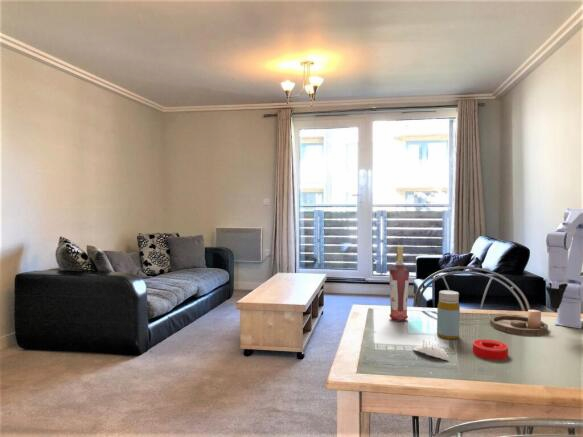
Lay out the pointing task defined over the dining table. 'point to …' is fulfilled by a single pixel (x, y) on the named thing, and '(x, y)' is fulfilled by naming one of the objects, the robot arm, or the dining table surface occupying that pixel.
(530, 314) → the bead
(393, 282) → the liquor
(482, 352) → the decorative ornament
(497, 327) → the groove tray
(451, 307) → the bottle
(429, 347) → the pincushion
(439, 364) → the dining table surface
